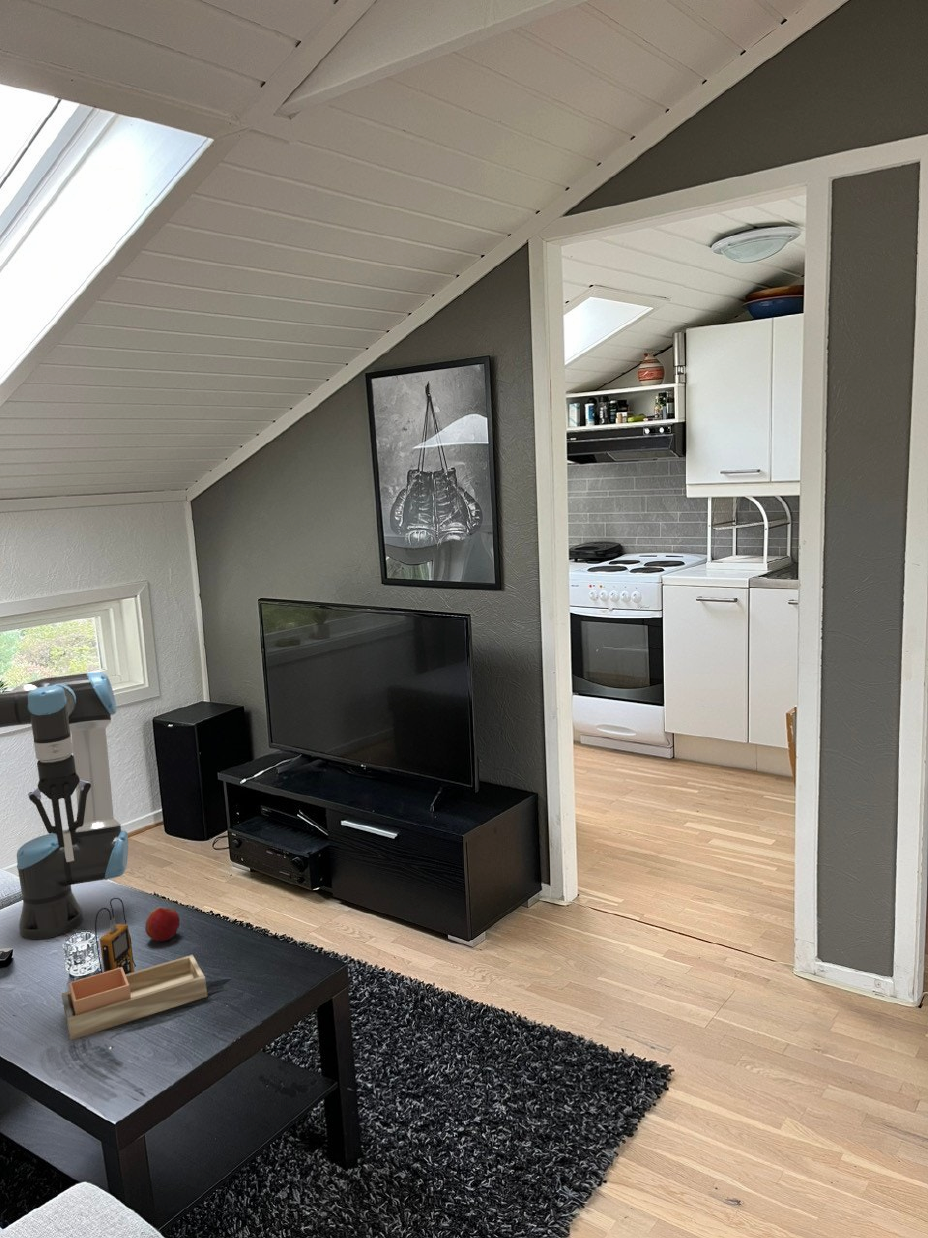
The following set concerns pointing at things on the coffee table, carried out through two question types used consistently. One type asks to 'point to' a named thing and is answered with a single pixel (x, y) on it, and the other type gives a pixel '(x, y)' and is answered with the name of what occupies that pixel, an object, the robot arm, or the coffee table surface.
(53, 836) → the robot arm
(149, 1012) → the bay
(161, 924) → the apple
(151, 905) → the coffee table surface
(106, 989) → the box
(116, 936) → the multimeter
